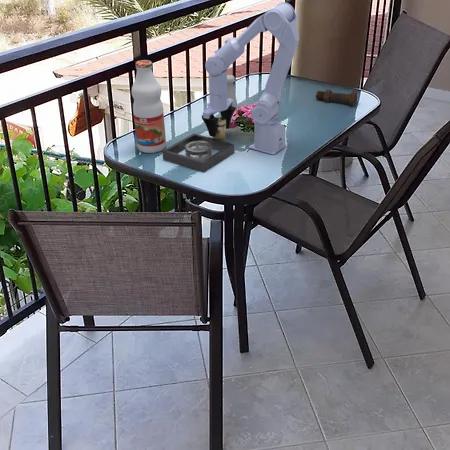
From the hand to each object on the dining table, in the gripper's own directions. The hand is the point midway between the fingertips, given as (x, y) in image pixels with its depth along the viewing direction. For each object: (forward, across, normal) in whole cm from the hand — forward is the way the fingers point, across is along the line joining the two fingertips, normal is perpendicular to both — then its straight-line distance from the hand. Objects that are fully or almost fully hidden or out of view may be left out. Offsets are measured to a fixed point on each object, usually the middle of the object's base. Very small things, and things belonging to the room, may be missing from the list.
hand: (219, 132), depth 195 cm
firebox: (+3, +14, +2) cm, 14 cm away
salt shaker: (+3, -23, -12) cm, 26 cm away
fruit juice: (+3, +17, -15) cm, 23 cm away
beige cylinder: (+3, 0, 0) cm, 3 cm away
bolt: (+3, -51, +17) cm, 54 cm away
